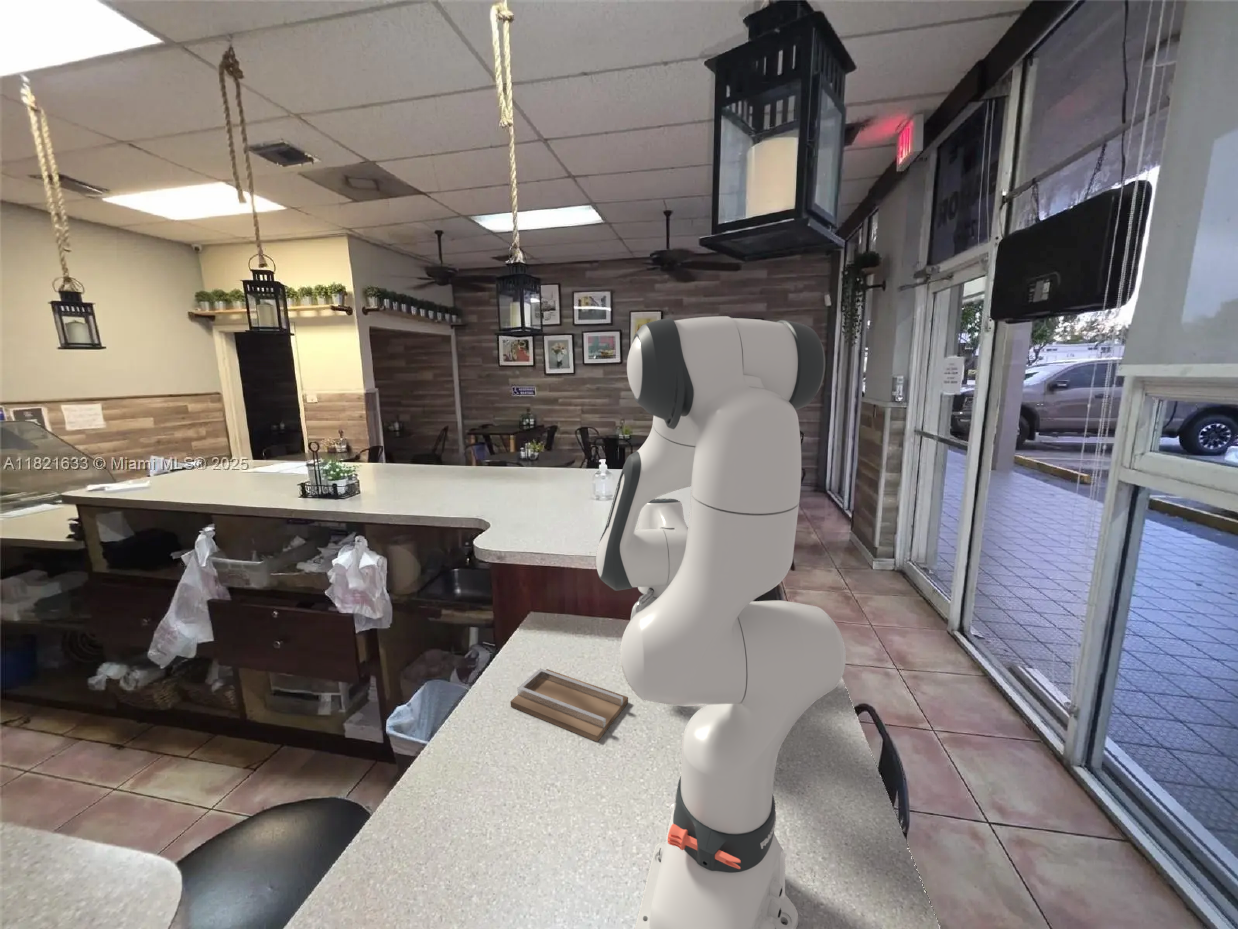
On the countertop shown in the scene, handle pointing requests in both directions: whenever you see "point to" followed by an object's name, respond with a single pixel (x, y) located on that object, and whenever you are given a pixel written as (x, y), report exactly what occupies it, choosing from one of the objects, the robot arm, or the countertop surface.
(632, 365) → the robot arm
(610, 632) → the countertop surface
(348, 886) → the countertop surface
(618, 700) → the track rails
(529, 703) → the track board
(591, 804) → the countertop surface
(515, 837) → the countertop surface
